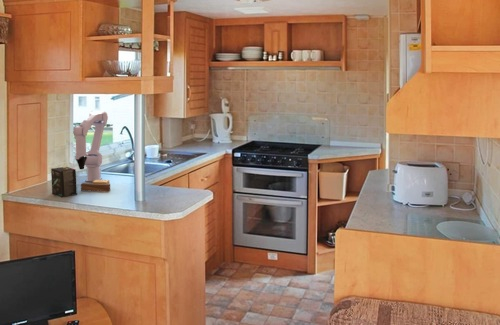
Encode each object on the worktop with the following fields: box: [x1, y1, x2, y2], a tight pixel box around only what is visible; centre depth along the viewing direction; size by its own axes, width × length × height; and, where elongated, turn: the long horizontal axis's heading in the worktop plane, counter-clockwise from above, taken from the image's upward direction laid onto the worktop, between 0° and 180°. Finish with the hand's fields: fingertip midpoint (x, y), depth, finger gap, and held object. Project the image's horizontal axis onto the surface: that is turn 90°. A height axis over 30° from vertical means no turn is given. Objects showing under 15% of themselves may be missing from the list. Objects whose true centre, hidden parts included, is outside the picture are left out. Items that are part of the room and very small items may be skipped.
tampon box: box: [50, 166, 78, 198], centre depth 278 cm, size 11×9×15 cm
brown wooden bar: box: [80, 182, 111, 193], centre depth 289 cm, size 3×16×4 cm, turn 89°
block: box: [92, 179, 110, 184], centre depth 293 cm, size 6×8×5 cm
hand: (81, 169), depth 299 cm, fingers closed
